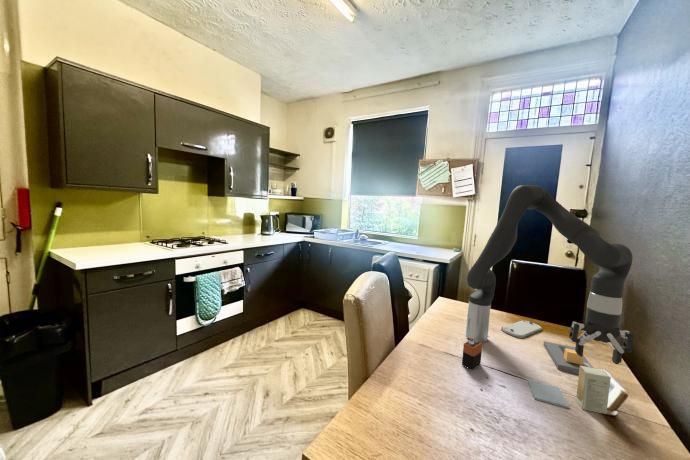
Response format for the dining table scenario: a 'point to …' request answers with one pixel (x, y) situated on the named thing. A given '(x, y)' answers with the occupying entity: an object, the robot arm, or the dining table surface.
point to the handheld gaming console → (521, 329)
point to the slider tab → (572, 356)
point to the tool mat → (547, 393)
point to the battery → (472, 354)
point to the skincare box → (593, 389)
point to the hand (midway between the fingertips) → (597, 359)
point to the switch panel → (558, 357)
